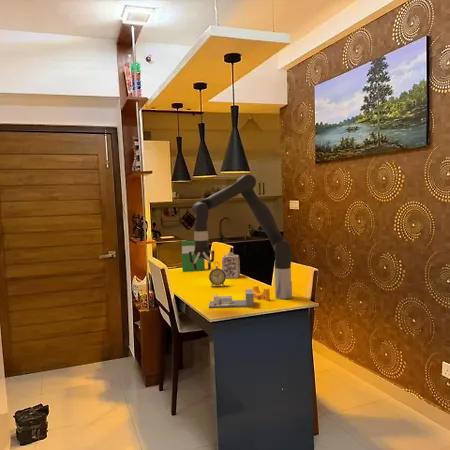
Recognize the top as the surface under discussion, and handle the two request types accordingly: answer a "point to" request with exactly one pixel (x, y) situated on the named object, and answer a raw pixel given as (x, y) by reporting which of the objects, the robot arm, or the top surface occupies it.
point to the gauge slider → (222, 299)
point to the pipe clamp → (259, 295)
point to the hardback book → (186, 264)
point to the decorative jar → (231, 265)
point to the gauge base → (237, 301)
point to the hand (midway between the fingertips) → (202, 269)
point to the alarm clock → (217, 276)
